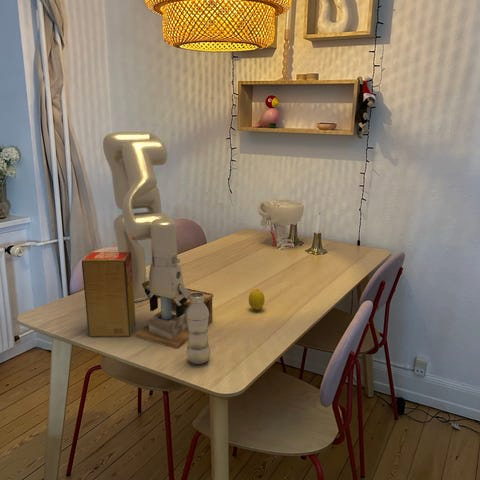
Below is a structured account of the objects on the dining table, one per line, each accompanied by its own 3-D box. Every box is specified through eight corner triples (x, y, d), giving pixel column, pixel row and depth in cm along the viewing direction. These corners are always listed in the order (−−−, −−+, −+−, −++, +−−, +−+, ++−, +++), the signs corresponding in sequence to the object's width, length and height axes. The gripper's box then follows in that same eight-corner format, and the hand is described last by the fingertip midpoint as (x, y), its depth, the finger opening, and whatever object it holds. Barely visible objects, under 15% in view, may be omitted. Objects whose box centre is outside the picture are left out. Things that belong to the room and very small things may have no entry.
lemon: (254, 305, 165) (255, 284, 163) (267, 309, 162) (267, 288, 159) (245, 310, 161) (245, 289, 159) (257, 315, 157) (258, 293, 155)
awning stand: (171, 311, 159) (170, 285, 157) (213, 322, 152) (213, 294, 149) (134, 336, 142) (132, 306, 140) (179, 348, 135) (178, 317, 132)
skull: (307, 245, 237) (310, 202, 231) (293, 255, 222) (295, 208, 215) (264, 238, 249) (265, 197, 243) (248, 247, 233) (248, 203, 227)
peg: (166, 327, 145) (164, 292, 142) (174, 329, 144) (172, 294, 141) (160, 331, 143) (158, 296, 139) (168, 334, 141) (166, 298, 138)
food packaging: (136, 323, 151) (132, 250, 144) (130, 337, 142) (125, 260, 135) (95, 323, 151) (89, 250, 144) (87, 337, 141) (79, 260, 135)
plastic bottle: (198, 370, 124) (196, 301, 119) (181, 361, 129) (179, 294, 123) (215, 360, 129) (214, 294, 123) (198, 352, 133) (197, 288, 128)
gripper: (196, 261, 136) (197, 313, 141) (149, 252, 144) (151, 303, 149) (181, 268, 130) (183, 323, 135) (133, 259, 138) (136, 311, 142)
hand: (166, 312), depth 142 cm, fingers open, 9 cm apart
